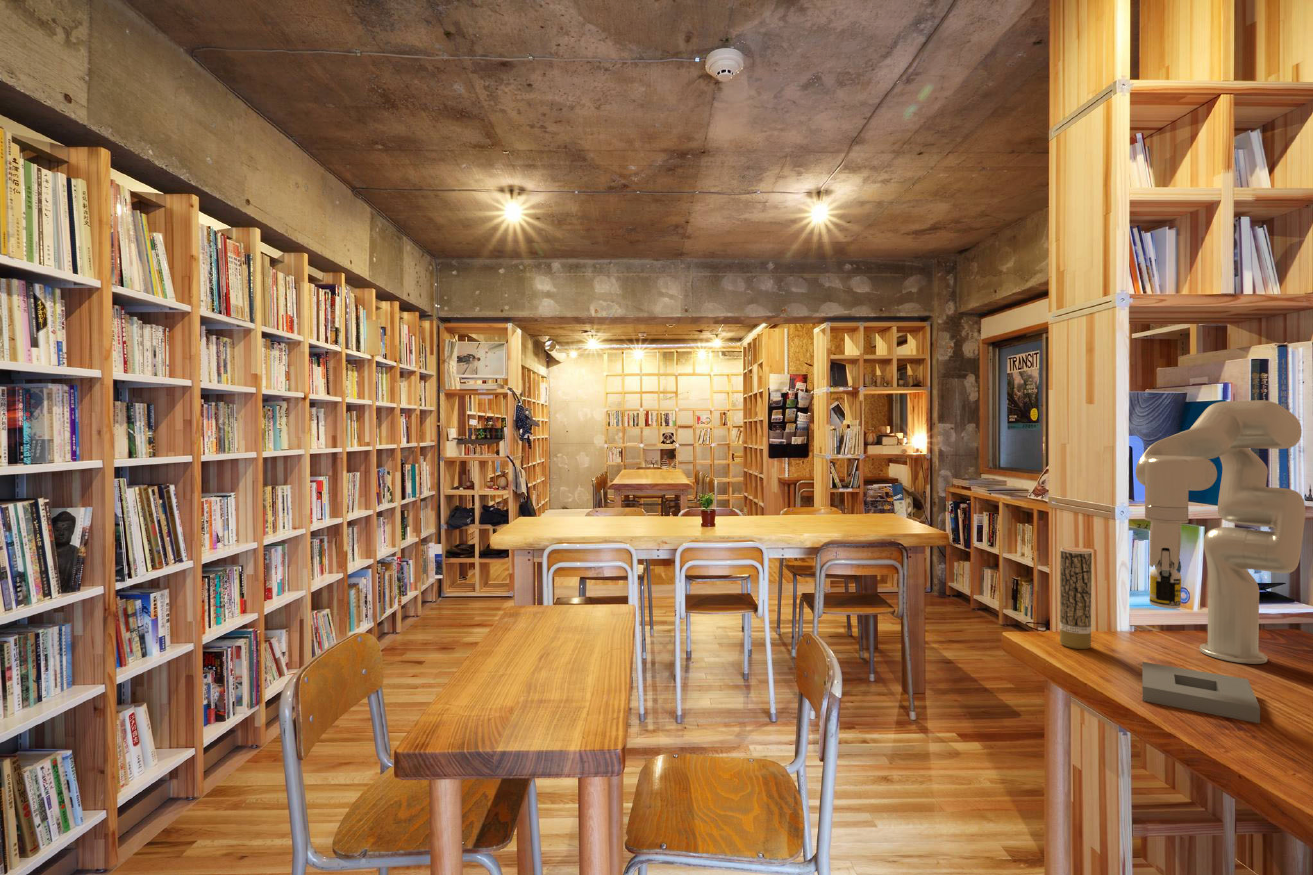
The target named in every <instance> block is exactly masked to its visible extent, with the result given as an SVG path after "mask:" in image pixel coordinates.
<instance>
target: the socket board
mask: <svg viewBox="0 0 1313 875" xmlns="http://www.w3.org/2000/svg"><path fill="white" fill-rule="evenodd" d="M1141 676H1142V679H1141V680H1142V682H1141V683H1142V685H1141V686H1142V689H1141V690H1142V695H1143V696H1142V701H1143V702H1146V701H1147V702H1148V703H1153V704H1157V705H1163V706H1167V707H1173V708H1179V709H1184V710H1189V711H1193V712H1199V713H1202V714H1203V713H1204V714H1209V715H1214V716H1218V717H1219V716H1220V717H1224V718H1231V719H1234V720H1240V721H1246V722H1249V723H1255V724H1261V707H1260V704H1259V702H1258V699H1257V698H1256V694H1255V693H1254V689H1253V688H1252V686H1251V684H1250V681H1249V679H1248V678H1244V677H1243V678H1242V677H1237V676H1230V675H1224V674H1219V673H1213V672H1206V671H1200V670H1195V669H1194V670H1193V669H1187V668H1182V667H1178V666H1169V665H1163V664H1159V663H1152V662H1147V661H1146V662H1145V661H1142V674H1141Z"/></svg>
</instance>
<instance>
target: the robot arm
mask: <svg viewBox="0 0 1313 875" xmlns="http://www.w3.org/2000/svg"><path fill="white" fill-rule="evenodd" d="M1301 437H1302V426H1301V423H1300V420H1299V419H1298V418H1297V416H1296V415H1295V414H1293V413H1292V412H1291V411H1290V410H1288V409H1287V408H1285V407H1284V406H1282V405H1280V404H1279V403H1277V402H1274V401H1271V400H1262V399H1261V400H1260V399H1259V400H1229V401H1218V402H1215V403H1212V404H1211V405H1209V406H1208V407H1207V408H1205V409H1204V411H1203V412H1202V413H1201V414H1200V416H1198V418H1197V419H1196V420H1195V422H1194V423H1193V425H1191V427H1190V428H1189V429H1186V430H1184V431H1180V432H1178V433H1176V434H1173V435H1170V436H1167V437H1165V438H1162V439H1160V440H1157V441H1155V442H1154V443H1153V444H1151V445H1150V446H1149V447H1148V448H1147V449H1146V450H1145V451H1144V453H1142V455H1141V456H1140V458H1139V460H1138V461H1137V464H1136V467H1135V477H1136V480H1137V481H1138V482H1139V484H1141V485H1142V486H1144V520H1145V521H1147V522H1150V525H1149V527H1150V528H1149V566H1150V567H1151V568H1154V566H1155V565H1157V563H1158V567H1157V569H1158V581H1156V599H1157V600H1163V601H1171V602H1174V601H1175V583H1174V569H1176V568H1177V569H1178V568H1179V562H1180V556H1181V546H1182V545H1181V544H1182V542H1181V540H1182V524H1188V523H1189V491H1204V490H1207V489H1209V488H1211V487H1212V486H1213V485H1214V483H1215V482H1216V480H1217V478H1218V471H1217V468H1216V465H1215V464H1214V462H1213V461H1212V459H1216V458H1218V457H1219V460H1220V463H1221V466H1222V474H1221V481H1220V487H1219V493H1218V502H1217V513H1218V516H1219V518H1220V519H1221V520H1223V521H1225V522H1228V523H1233V524H1238V525H1239V524H1240V525H1248V526H1250V525H1251V526H1259V527H1269V528H1270V527H1271V528H1274V531H1269V530H1258V529H1253V528H1251V529H1250V528H1241V527H1231V526H1225V527H1224V526H1223V527H1221V526H1220V527H1215V528H1211V529H1209V530H1208V531H1207V532H1206V534H1205V536H1204V538H1203V550H1204V555H1205V560H1206V565H1207V578H1208V580H1207V582H1208V584H1207V586H1208V587H1207V588H1208V589H1207V590H1208V591H1207V594H1208V595H1207V643H1202V644H1200V645H1199V651H1200V652H1201V653H1202V654H1204V655H1207V656H1209V657H1211V658H1215V659H1218V660H1222V661H1227V662H1231V663H1237V664H1248V665H1261V664H1265V663H1267V662H1268V656H1267V655H1266V654H1265V653H1263V652H1261V651H1260V650H1259V639H1260V638H1259V636H1260V635H1259V633H1260V632H1259V631H1260V630H1259V629H1260V628H1259V626H1260V625H1259V624H1260V623H1259V622H1260V617H1259V616H1260V587H1259V585H1258V582H1257V580H1256V578H1254V576H1253V575H1252V574H1251V573H1250V572H1249V570H1255V571H1262V572H1271V573H1278V574H1279V573H1280V574H1290V573H1292V572H1294V571H1295V570H1296V569H1297V568H1298V565H1299V563H1300V559H1301V553H1302V547H1303V546H1302V545H1303V537H1304V530H1305V521H1306V504H1305V500H1304V498H1303V496H1302V495H1301V494H1300V492H1298V491H1297V490H1294V489H1291V488H1286V487H1285V488H1284V487H1283V488H1282V487H1270V486H1268V487H1267V480H1268V473H1269V472H1268V471H1269V470H1268V467H1267V465H1266V463H1265V462H1264V461H1263V460H1262V459H1261V458H1260V457H1259V456H1258V455H1257V453H1255V452H1254V451H1253V450H1252V449H1267V450H1269V449H1272V450H1273V449H1276V450H1277V449H1278V450H1283V449H1290V448H1293V447H1295V446H1296V445H1297V444H1298V443H1299V442H1300V440H1301ZM1171 561H1172V568H1170V567H1169V565H1171ZM1160 564H1162V567H1160ZM1177 569H1176V570H1177ZM1170 571H1171V572H1170ZM1170 577H1171V579H1170ZM1170 581H1171V582H1170Z"/></svg>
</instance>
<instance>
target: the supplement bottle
mask: <svg viewBox="0 0 1313 875" xmlns="http://www.w3.org/2000/svg"><path fill="white" fill-rule="evenodd" d="M1157 567H1158V563H1157V565H1154V569H1152V570H1150V574H1149V604H1150V605H1151V606H1154V607H1158V608H1163V609H1170V610H1175V609H1180V608H1181V606H1182V605H1181V604H1182V603H1181V601H1182V574H1181V573H1179V572H1178V571H1177V569H1178V568H1176V569H1174V583H1175V601H1174V602H1171V601H1163V600H1157V599H1156V581H1158V569H1157ZM1160 567H1162V564H1160ZM1169 567H1170V568H1172V560H1171V565H1169ZM1170 572H1171V571H1170ZM1170 579H1171V577H1170ZM1170 582H1171V581H1170Z"/></svg>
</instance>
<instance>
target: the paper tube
mask: <svg viewBox="0 0 1313 875" xmlns="http://www.w3.org/2000/svg"><path fill="white" fill-rule="evenodd" d="M1092 554H1093V553H1092V549H1089V548H1084V547H1077V546H1075V547H1074V546H1072V547H1071V546H1064V547H1063V546H1062V547H1060V556H1059V557H1060V562H1059V563H1060V564H1059V565H1060V576H1059V579H1060V581H1059V582H1060V584H1059V585H1060V586H1059V587H1060V589H1059V594H1060V595H1059V596H1060V597H1059V643H1060V644H1061V645H1062V646H1065V647H1067V648H1069V649H1075V650H1087V649H1090V647H1091V645H1092V579H1093V578H1092V573H1093V572H1092V566H1093V564H1092V563H1093V562H1092V559H1093V558H1092V557H1093V556H1092Z"/></svg>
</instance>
